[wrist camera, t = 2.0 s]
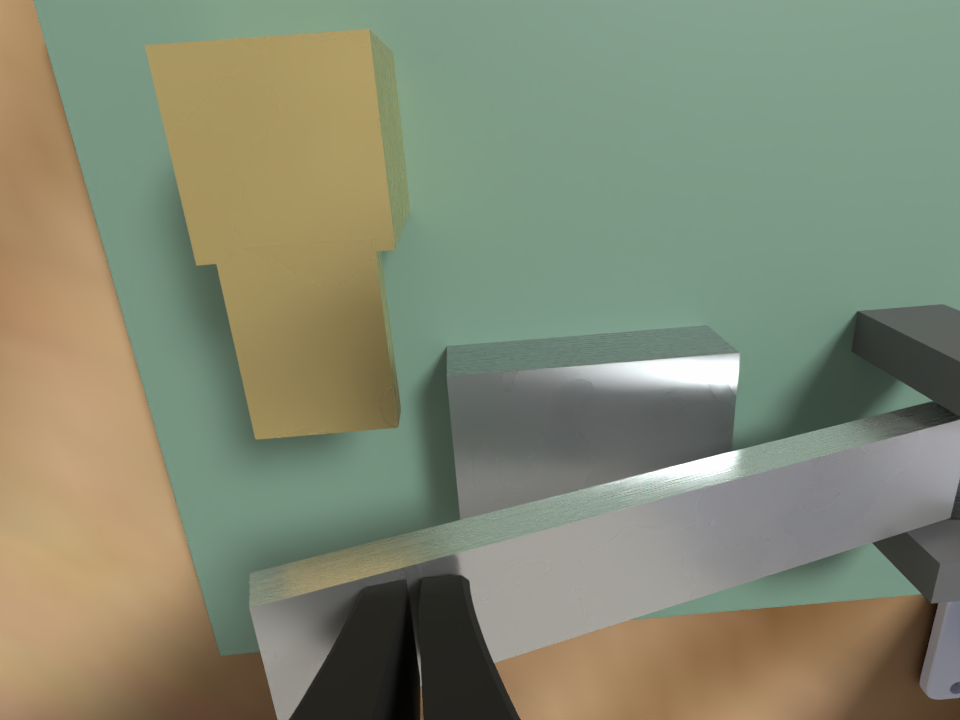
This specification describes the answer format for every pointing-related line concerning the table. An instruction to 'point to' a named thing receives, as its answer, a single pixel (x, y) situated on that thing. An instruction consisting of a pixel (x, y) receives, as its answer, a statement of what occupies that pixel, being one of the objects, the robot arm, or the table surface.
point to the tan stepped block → (294, 214)
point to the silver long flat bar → (628, 541)
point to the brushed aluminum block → (585, 411)
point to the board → (561, 243)
